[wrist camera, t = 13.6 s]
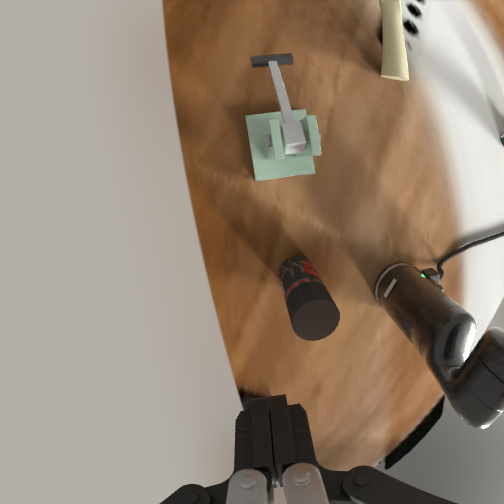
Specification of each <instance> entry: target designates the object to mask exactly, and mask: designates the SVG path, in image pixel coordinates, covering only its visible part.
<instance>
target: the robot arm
mask: <svg viewBox="0 0 504 504" xmlns="http://www.w3.org/2000/svg"><path fill="white" fill-rule="evenodd" d="M502 236H504V232H501V233H499V234H496V235H493V236H490V237H487V238H484V239H481V240H478V241H475V242H472V243H470V244H468V245H466V246H464V247H462V248H460V249H458V250H456V251H454V252H452V253H450V254H448V255H447V256H446V257H445V258H443V259H442V260H441V261H440V262H439V264H438V265H437V270H438V272H439V273H438V272H437V271H435V270H434V269H433V268H429V269H424V270H422V271H421V270H419V269H418V268H416V267H411V266H410V265H408V264H406V263H395V264H392V265H390V266H389V267H387V268H386V269H385V270H384V271H383V272H382V273H381V274H380V276H379V277H378V279H377V282H376V284H375V290H374V293H375V298H376V300H377V302H378V303H379V304H380V306H381V307H383V308H384V310H385V311H386V312H387V313H388V314H389V316H390V317H391V318H392V319H393V321H394V322H395V323H396V324H397V325H398V327H399V328H400V329H401V330H402V332H403V333H404V334H405V335H406V336H407V338H408V339H409V340H410V341H411V343H412V344H413V345H414V346H415V348H416V349H417V350H418V352H419V353H420V354H421V355H422V357H423V358H424V359H425V362H426V364H427V367H428V368H429V370H430V371H431V373H432V374H433V376H434V377H435V379H436V380H437V382H438V383H439V385H440V387H441V388H442V390H443V392H444V393H445V395H446V397H447V398H448V400H449V401H450V403H451V405H452V407H453V408H454V409H455V411H456V412H457V413H458V415H459V416H460V417H461V418H462V419H463V420H464V421H465V422H466V423H467V424H468V425H470V426H472V427H474V428H477V429H484V428H486V427H488V426H489V425H491V424H492V423H493V422H494V421H495V420H496V419H497V417H498V416H499V415H500V414H501V413H502V412H503V410H504V330H503V329H501V328H498V327H492V328H490V329H488V330H487V331H486V332H485V333H484V334H483V336H482V337H481V339H480V340H479V341H478V343H477V344H476V346H475V347H474V349H473V350H472V352H471V353H470V351H471V347H472V344H473V341H474V337H475V332H476V324H475V320H474V318H473V317H472V315H471V314H470V313H469V312H467V311H466V310H465V309H464V308H463V307H461V306H460V305H459V304H458V303H457V302H455V301H454V300H453V299H451V298H450V297H449V296H448V295H447V294H445V293H444V292H443V288H442V286H441V285H439V281H440V280H441V279H442V278H443V275H444V272H443V270H442V268H441V267H442V265H443V264H444V263H445V262H446V261H447V260H448V259H450V258H452V257H453V256H455V255H457V254H459V253H461V252H463V251H465V250H467V249H469V248H471V247H473V246H476V245H479V244H482V243H485V242H488V241H491V240H494V239H496V238H499V237H502ZM269 400H270V404H269ZM235 427H236V429H235V431H236V432H235V459H234V471H233V474H232V475H231V476H230V478H229V479H227V480H226V481H224V482H223V483H220V484H217V485H213V486H209V487H205V488H204V487H202V486H200V485H197V484H188V485H184V486H182V487H180V488H179V489H178V490H177V491H175V492H174V493H173V494H172V495H170V496H169V497H168V498H167V499H165V500H164V501H163V502H161V503H160V504H274V490H273V488H275V487H279V485H278V479H279V483H280V487H284V492H285V497H286V502H287V504H457V503H454V502H451V501H448V500H445V499H443V498H440V497H437V496H435V495H432V494H430V493H427V492H424V491H422V490H420V489H417V488H415V487H413V486H410V485H408V484H406V483H404V482H401V481H399V480H397V479H395V478H393V477H390V476H389V475H387V474H384V473H382V472H381V471H379V470H376V469H374V468H373V467H370V466H358V467H355V468H352V469H351V470H349V471H331V470H327V469H325V468H323V467H322V466H320V465H319V463H318V462H317V460H316V457H315V452H314V447H313V442H312V437H311V433H310V428H309V423H308V418H307V414H306V411H305V410H304V409H303V407H302V406H301V405H300V404H294V405H288V406H287V399H286V394H283V395H277V396H269V399H268V397H262V398H253V399H251V410H248V411H241V412H240V414H239V415H238V417H237V419H236V426H235Z"/></svg>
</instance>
